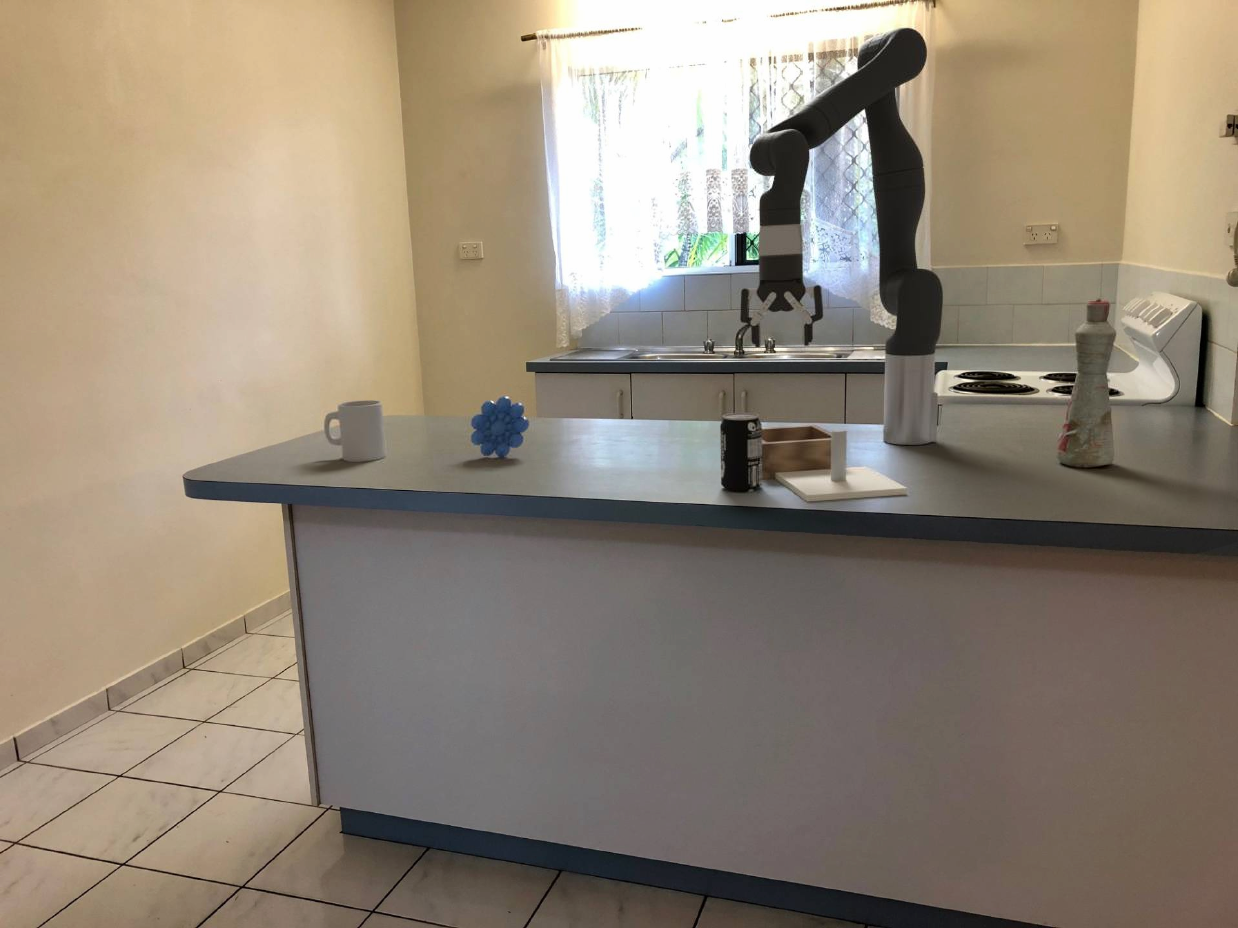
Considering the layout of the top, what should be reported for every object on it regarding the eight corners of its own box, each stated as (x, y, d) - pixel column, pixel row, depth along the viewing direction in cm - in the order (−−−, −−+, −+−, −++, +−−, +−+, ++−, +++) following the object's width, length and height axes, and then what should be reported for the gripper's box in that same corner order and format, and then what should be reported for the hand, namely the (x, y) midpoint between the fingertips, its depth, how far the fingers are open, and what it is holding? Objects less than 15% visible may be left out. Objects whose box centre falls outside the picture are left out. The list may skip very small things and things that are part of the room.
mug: (392, 452, 195) (387, 399, 192) (378, 461, 186) (373, 406, 184) (335, 453, 196) (330, 401, 194) (319, 462, 188) (313, 407, 185)
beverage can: (717, 484, 157) (716, 413, 155) (756, 482, 158) (756, 411, 155) (725, 494, 151) (724, 419, 148) (766, 491, 151) (765, 417, 149)
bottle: (1091, 472, 156) (1103, 300, 150) (1044, 463, 164) (1054, 299, 158) (1125, 465, 160) (1138, 297, 154) (1078, 456, 168) (1089, 296, 162)
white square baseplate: (866, 472, 162) (867, 420, 160) (906, 494, 147) (908, 437, 145) (775, 478, 160) (775, 425, 158) (807, 501, 145) (807, 443, 143)
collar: (815, 456, 176) (815, 424, 175) (844, 473, 162) (844, 438, 161) (739, 461, 174) (739, 429, 173) (762, 479, 160) (762, 444, 159)
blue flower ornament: (534, 452, 190) (531, 392, 187) (528, 459, 183) (525, 397, 181) (477, 453, 191) (472, 394, 188) (469, 460, 184) (465, 399, 182)
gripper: (823, 250, 166) (824, 343, 170) (742, 254, 170) (744, 345, 174) (821, 250, 159) (821, 347, 163) (736, 255, 163) (739, 349, 167)
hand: (782, 346), depth 168 cm, fingers open, 8 cm apart
